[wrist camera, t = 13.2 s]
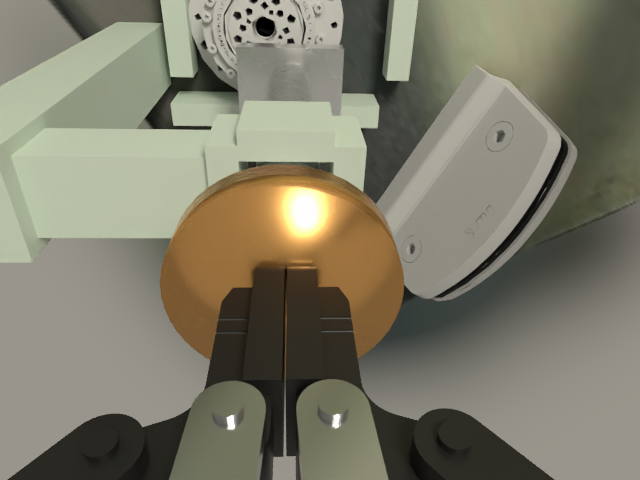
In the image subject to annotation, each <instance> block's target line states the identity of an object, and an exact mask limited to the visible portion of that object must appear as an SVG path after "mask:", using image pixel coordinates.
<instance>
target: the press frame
mask: <svg viewBox="0 0 640 480" xmlns="http://www.w3.org/2000/svg"><path fill="white" fill-rule="evenodd" d="M160 1H161V8H162V16H163V23H164V25H163V23H140V22H116V23H115V24H113V25H111V26H109V27H107V28H106V29H104V30H102V31H100V32H98V33H96V34H95V35H93V36H91V37H89V38H87V39H85V40H84V41H82V42H80V43H78V44H76V45H75V46H73V47H71V48H69V49H67V50H66V51H64V52H62V53H60V54H58V55H56V56H55V57H53V58H51V59H49V60H47V61H45V62H44V63H42V64H40V65H38V66H36V67H34V68H33V69H31V70H29V71H27V72H25V73H24V74H22V75H20V76H18V77H17V78H14V79H13V80H11V81H9V82H7V83H6V84H4V85H2V86H0V263H32V262H33V261H34V260H35V259H36V257H37V256H38V255H39V253H40V252H41V251H42V250H43V248H44V247H45V246H46V245H47V243H48V242H49V241H50V239H51V238H172V237H173V234H174V232H175V229H176V227H177V225H178V222H179V220H180V218H181V217H182V215H183V213H184V212H185V210H186V209H187V207H188V206H189V205H190V204H191V203H192V202H193V200H194V199H195V198H196V197H197V196H198V195H199V194H201V193H202V192H203V191H204V190H205V189H207V188H208V187H209V186H211V185H212V184H214V183H216V182H217V181H219V180H220V179H223V178H225V177H227V176H229V175H231V174H234V173H236V172H239V171H242V170H246V169H248V161H252V162H327V172H328V173H332V174H334V175H336V176H338V177H340V178H342V179H344V180H346V181H348V182H349V183H351V184H353V185H354V186H356V187H357V188H359V189H360V190H361V191H362V192H363V186H364V174H365V162H366V150H367V147H366V144H365V141H364V138H363V134H362V131H361V128H377V127H378V116H379V105H378V103H377V101H376V99H375V96H374V94H342V97H341V116H332V112H331V107H330V102H303V101H244V105H243V108H242V112H241V114H240V111H239V95H238V92H211V91H179V92H178V94H177V95H176V97H175V98H174V99H173V101H172V102H171V112H172V119H173V126H212V128H211V130H169V129H137V127H138V126H139V125H140V123H141V122H142V121H143V120H144V118H145V117H146V116H147V115H148V113H149V112H150V111H151V109H152V108H153V107H154V105H155V104H156V103H157V102H158V100H159V99H160V98H161V96H162V95H163V94H164V93H165V91H166V90H167V89H168V87H169V86H170V85H171V78H170V76H171V77H194V76H195V74H196V73H197V71H198V62H197V52H196V42H195V40H194V38H193V36H192V31H191V24H190V16H189V2H190V0H160ZM417 6H418V0H389V6H388V17H387V27H386V38H385V49H384V59H383V70H382V74H383V75H384V77H385V79H386V80H387V81H408V80H409V72H410V64H411V55H412V47H413V39H414V31H415V23H416V15H417ZM164 31H165V32H164ZM165 39H166V40H165ZM166 46H167V47H166ZM167 54H168V55H167ZM168 61H169V62H168ZM169 69H170V70H169Z"/></svg>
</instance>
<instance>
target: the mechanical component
mask: <svg viewBox="0 0 640 480" xmlns="http://www.w3.org/2000/svg"><path fill="white" fill-rule="evenodd" d="M275 1H276V2H274V1H273V0H258V1H252V0H190V2H189V16H190V24H191V31H192V36H193V38H194V40H195V42H196V45H197V47H198V49H199V52H200V54H201V56H202V58H203V60H204V61H205V62H206V64H207V65H208V66H209V67H210V68H211V69H212V71H213V72H214V73H215V74H216V75H217V76H218V78H220V79H221V80H223V81H224V82H226V83H227V84H229V85H230V86H232V87H233V88H235V89H236V90H238V78H237V62H236V45H237V43H283V44H331V45H339V43H340V39H341V35H342V25H343V10H342V4H341V0H280V2H277V0H275ZM263 2H266V3H267V5H268V6H264V5H263ZM297 3H298V4H299V6H300V7H299V6H298V4H297ZM247 8H248V10H247ZM249 8H250V9H252V10H253V11H252V13H251V12H249ZM300 9H301V10H300ZM270 10H272V11H273V12H271V11H270ZM278 10H282V11H283V14H278ZM198 13H199V15H200V16H201V18H200V17H198ZM240 13H241V16H240ZM290 14H291V15H292V16H294V18H295V19H294V20H290V19H288V16H289V15H290ZM263 16H264V17H266V18H268V19H271V20H273V22H274V25H275V30H274V29H272V30H269V31H267V30H264V29H262V28H260V26H259V25H258V24H257V20H258V19H259V18H260V17H263ZM303 18H304V22H305V23H304V22H303ZM248 19H249V20H248ZM254 21H255V22H254ZM334 22H336V23H337V24H335V25H334V26H332V25H331V23H334ZM253 23H254V25H253ZM242 25H244V26H246V28H242ZM256 26H257V29H258V30H259V31H260V32H261V31H262V33H265V34H270V33H271V32H272V31H273V30H274V32H273V34H272V35H270V36H268V37H263V36H261V35H260V34H258V32H257V31H256ZM284 28H285V29H286V28H288V29H289V30H284ZM304 29H305V33H304ZM276 31H277V32H276ZM275 32H276V33H275ZM303 33H304V36H303ZM280 35H281V36H280ZM239 39H240V40H239ZM203 40H205V42H206V45H207V46H205V44H204V43H203Z"/></svg>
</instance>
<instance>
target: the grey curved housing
mask: <svg viewBox="0 0 640 480" xmlns="http://www.w3.org/2000/svg"><path fill="white" fill-rule="evenodd" d="M576 159H577V149H576V147H575V146H574V144H573V143H572V142H571V140H570V139H569V138H568V137H567V136H566V134H565V133H564V132H563V131H562V130H561V129H560V128H559V127H558V126H557V125H556V124H555V123H554V122H553V121H552V120H551V119H550V118H549V117H548V116H547V115H546V114H545V113H544V112H543V111H542V110H541V109H540V108H539V107H538V106H537V105H536V104H535V103H534V102H533V101H532V99H531V98H530V97H529V96H528V95H527V94H526V93H525V92H524V91H523V90H522V89H521V88H520V87H519V88H518V89H517V88H516V87H515V86H514V85H513V84H512V83H511V82H510V81H509V80H506V79H503V78H500V77H496V76H493V75H490V74H489V73H488V72H486V71H485V70H483V69H482V68H481V67H478V66H476V65H473V67H472V68H471V70H470V71H469V72H468V74H467V75H466V77H465V78H464V80H463V81H462V82H461V84H460V85H459V87H458V88H457V90H456V91H455V92H454V94H453V95H452V97H451V98H450V99H449V101H448V102H447V104H446V105H445V107H444V108H443V109H442V111H441V112H440V114H439V115H438V117H437V118H436V119H435V121H434V122H433V124H432V125H431V127H430V128H429V129H428V131H427V132H426V134H425V135H424V137H423V138H422V139H421V141H420V142H419V144H418V145H417V147H416V148H415V149H414V151H413V152H412V154H411V155H410V157H409V158H408V159H407V161H406V162H405V164H404V165H403V166H402V168H401V169H400V171H399V172H398V174H397V175H396V176H395V178H394V179H393V181H392V182H391V184H390V185H389V186H388V188H387V189H386V191H385V192H384V194H383V195H382V196H381V198H380V199H379V201H378V202H377V204H376V206H377V207H378V208H379V209H380V211H381V212H382V214H383V215H384V217H385V219H386V220H387V223H388V225H389V227H390V229H391V232H392V235H393V238H394V241H395V244H396V247H397V251H398V254H399V257H400V261H401V264H402V268H403V275H404V285H405V286H406V287H407V288H408V289H409V291H410V292H411V293H413V294H415V295H417V296H419V297H422V298H424V299H430V298H432V299H433V300H435V301H445V300H450V299H453V298H455V297H457V296H459V295H461V294H463V293H465V292H467V291H468V290H470V289H471V288H473V287H475V286H476V285H478V284H479V283H481V282H482V281H483V280H485V279H486V278H488V277H489V276H490V275H491V274H492V273H494V272H495V271H496V270H497V269H499V268H500V267H501V266H502V265H503V264H504V263H505V262H506V261H508V260H509V259H510V258H511V257H512V256H513V255H514V254H515V253H516V252H517V251H518V250H519V248H520V247H521V246H522V245H523V244H524V243H525V242H526V240H527V239H528V238H529V237H530V236H531V235H532V233H533V232H534V231H535V229H536V228H537V227H538V226H539V224H540V223H541V222H542V220H543V219H544V217H545V216H546V214H547V213H548V211H549V210H550V209H551V207H552V205H553V204H554V202H555V200H556V199H557V197H558V195H559V194H560V192H561V190H562V188H563V186H564V184H565V183H566V181H567V179H568V177H569V175H570V172H571V170H572V168H573V166H574V164H575V161H576Z"/></svg>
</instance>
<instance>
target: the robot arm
mask: <svg viewBox="0 0 640 480" xmlns="http://www.w3.org/2000/svg"><path fill="white" fill-rule="evenodd" d="M285 332H286V444H287V445H286V449H287V456H296V480H554V479H553V478H551V477H550V476H549V475H548V474H546V473H545V472H544V471H542V470H541V469H540V468H538V467H537V466H536V465H534V464H533V463H532V462H530V461H529V460H528V459H527V458H525V457H524V456H523V455H521V454H520V453H519V452H517V451H516V450H515V449H514V448H512V447H511V446H510V445H508V444H507V443H506V442H505V441H503V440H502V439H500V438H499V437H498V436H497V435H495V434H494V433H493V432H492V431H490V430H489V429H488V428H486V427H485V426H483V425H482V424H481V423H480V422H478V421H477V420H476V419H474V418H473V417H471V416H470V415H468V414H466V413H463V412H461V411H458V410H453V409H436V410H432V411H430V412H427V413H426V414H424V415H423V416H422V417H421V418H420V419H419V420H418V421H417V420H413V419H410V418H406V417H402V416H399V415H395V414H392V413H389V412H387V411H385V410H383V409H382V408H380V407H378V406H377V405H375V403H373V402H372V401H371V400H370V399H369V397H368V396H367V395H366V394H365V392H364V390H363V387H362V384H361V378H360V371H359V365H358V358H357V351H356V344H355V338H354V333H353V324H352V320H351V311H350V304H349V300H348V299H347V297H346V296H345V295H344V293H343V292H342V291H341V290H340V288H339V287H318V276H317V266H287V322H286V317H285V267H255V271H254V280H253V287H240V288H232V289H231V291H230V292H229V293H228V294H227V296H226V297H225V298H224V299H223V301H222V302H221V307H220V313H219V321H218V323H217V329H216V335H215V339H214V344H213V350H212V355H211V360H210V366H209V371H208V377H207V381H206V386H205V389H204V391H203V392H201V393H200V394H199V395H198V397H197V398H196V399H195V401H194V402H193V404H192V407H191V408H189V409H188V410H187V411H185V412H184V413H182V414H180V415H178V416H176V417H174V418H171V419H169V420H165V421H162V422H159V423H155V424H152V425H149V426H146V427H142V426H141V425H140V423H139V422H138V421H137V420H135V419H134V418H132V417H130V416H127V415H123V414H106V415H102V416H98V417H96V418H93V419H91V420H89V421H87V422H85V423H83V424H82V425H80V426H79V427H77V428H76V429H75V430H73V431H72V432H71V433H69V434H68V435H67V436H65V437H64V438H63V439H61V440H60V441H59V442H57V443H56V444H55V445H53V446H52V447H51V448H49V449H48V450H47V451H45V452H44V453H43V454H41V455H40V456H39V457H37V458H36V459H35V460H33V461H32V462H31V463H29V464H28V465H27V466H25V467H24V468H23V469H21V470H20V471H19V472H17V473H16V474H15V475H13V476H12V477H11V478H9V479H8V480H272V476H273V457H283V444H284V390H285V389H284V388H285Z"/></svg>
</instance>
